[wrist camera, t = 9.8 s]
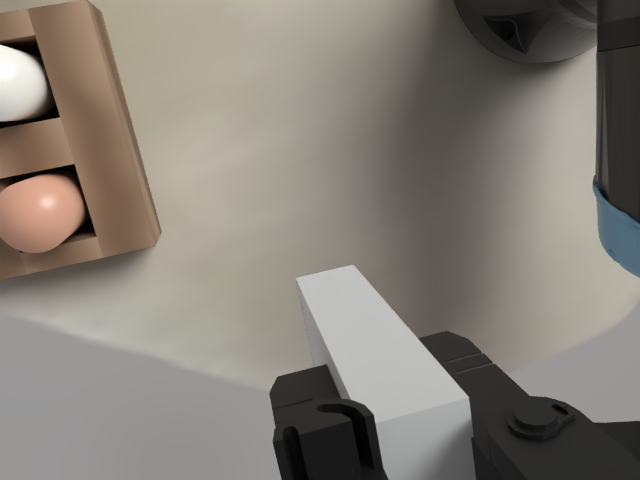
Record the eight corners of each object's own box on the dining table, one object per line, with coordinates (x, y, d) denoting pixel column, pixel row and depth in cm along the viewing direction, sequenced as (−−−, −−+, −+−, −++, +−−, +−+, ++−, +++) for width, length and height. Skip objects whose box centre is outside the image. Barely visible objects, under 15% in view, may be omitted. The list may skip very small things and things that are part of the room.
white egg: (46, 46, 36) (13, 34, 30) (66, 113, 37) (38, 113, 31) (-23, 58, 35) (-70, 48, 29) (-1, 125, 36) (-42, 128, 31)
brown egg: (82, 164, 38) (57, 174, 32) (100, 224, 39) (79, 244, 33) (17, 177, 37) (-20, 189, 32) (37, 237, 38) (5, 260, 33)
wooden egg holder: (101, 12, 37) (86, -1, 33) (161, 232, 41) (154, 246, 37) (-83, 42, 36) (-124, 33, 31) (-2, 267, 40) (-28, 286, 36)
